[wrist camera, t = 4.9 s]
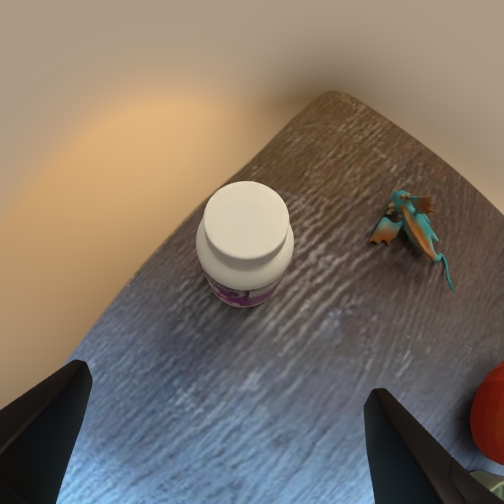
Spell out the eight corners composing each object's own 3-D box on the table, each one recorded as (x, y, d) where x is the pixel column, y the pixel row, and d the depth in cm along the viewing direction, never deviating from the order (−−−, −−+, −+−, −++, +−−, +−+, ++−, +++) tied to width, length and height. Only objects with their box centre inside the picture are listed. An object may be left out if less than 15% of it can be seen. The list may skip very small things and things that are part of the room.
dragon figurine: (465, 216, 25) (418, 162, 23) (485, 275, 20) (438, 219, 18) (416, 249, 30) (365, 205, 27) (424, 309, 25) (368, 266, 23)
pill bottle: (192, 269, 23) (164, 210, 14) (246, 226, 25) (250, 150, 16) (239, 324, 22) (239, 299, 13) (294, 277, 24) (327, 224, 14)
